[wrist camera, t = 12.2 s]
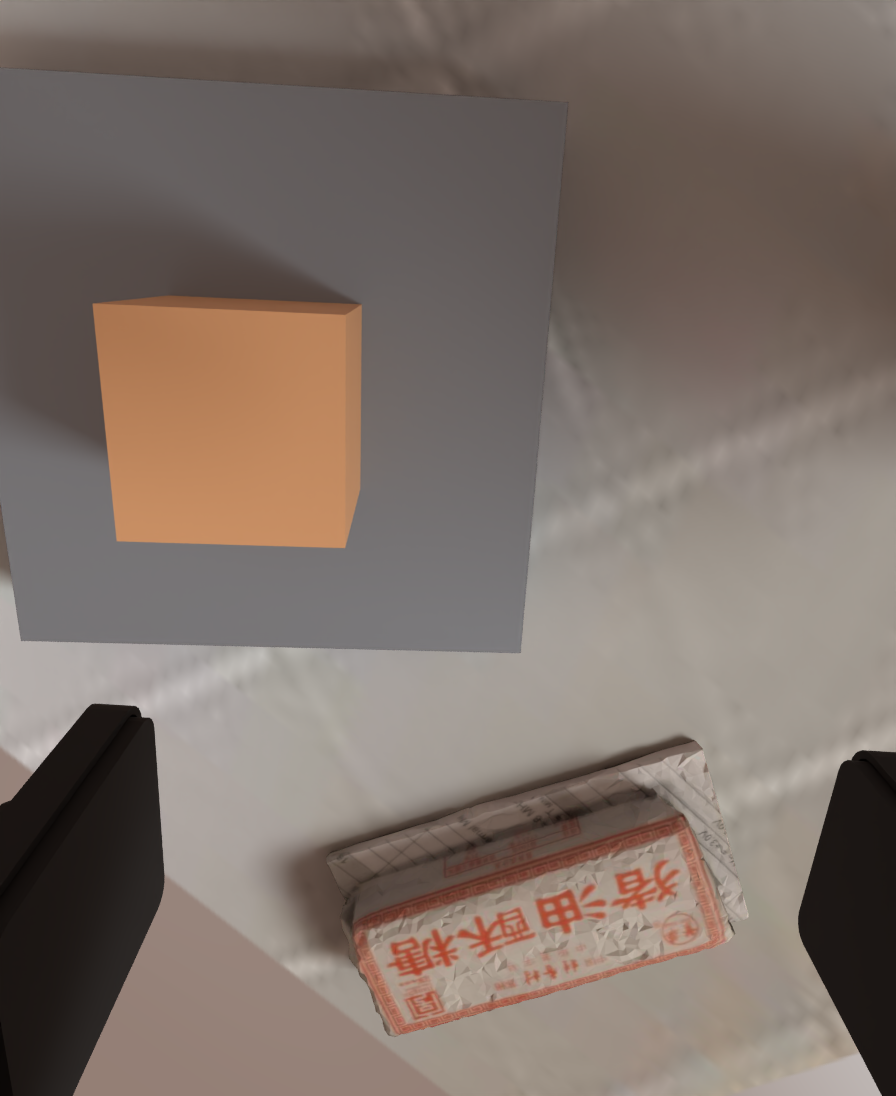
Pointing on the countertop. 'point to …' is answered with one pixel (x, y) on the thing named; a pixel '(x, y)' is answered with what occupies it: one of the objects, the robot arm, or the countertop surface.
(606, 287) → the countertop surface
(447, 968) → the packaged product
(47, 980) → the robot arm
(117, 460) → the cube
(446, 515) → the plinth
